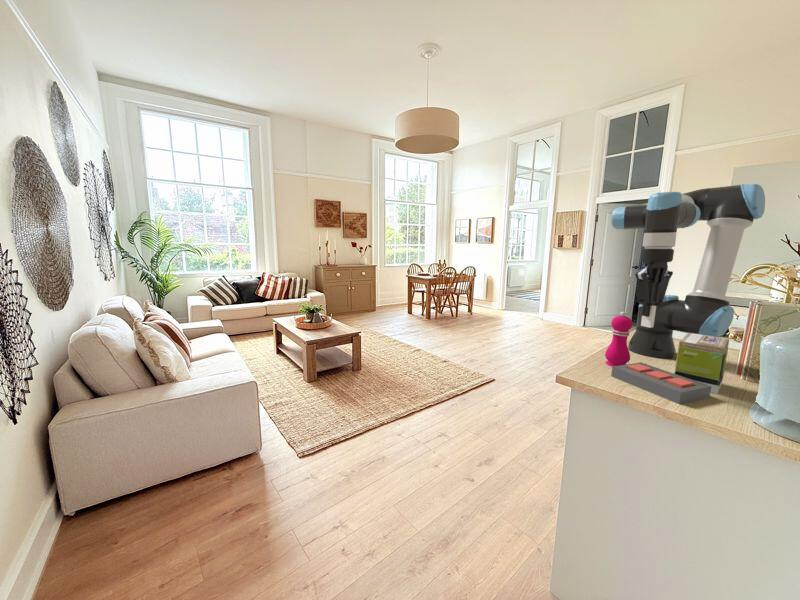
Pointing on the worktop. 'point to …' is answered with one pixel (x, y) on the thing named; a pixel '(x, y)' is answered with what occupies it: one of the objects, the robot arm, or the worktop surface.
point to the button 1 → (639, 368)
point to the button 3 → (680, 382)
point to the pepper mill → (619, 341)
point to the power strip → (661, 384)
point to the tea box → (702, 359)
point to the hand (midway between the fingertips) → (647, 326)
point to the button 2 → (659, 375)
